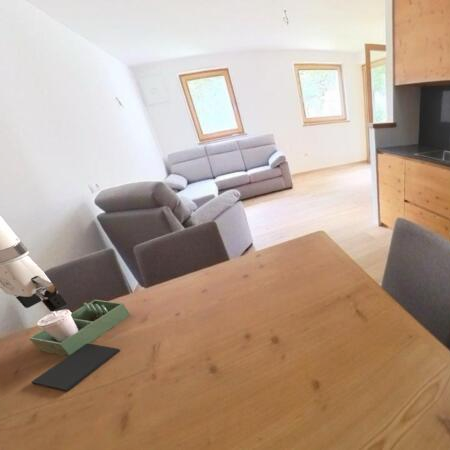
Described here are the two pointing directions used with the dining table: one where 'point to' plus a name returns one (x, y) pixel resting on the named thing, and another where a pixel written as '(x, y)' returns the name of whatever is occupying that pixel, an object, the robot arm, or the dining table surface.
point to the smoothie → (58, 325)
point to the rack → (84, 327)
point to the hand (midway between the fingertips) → (46, 306)
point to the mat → (75, 367)
